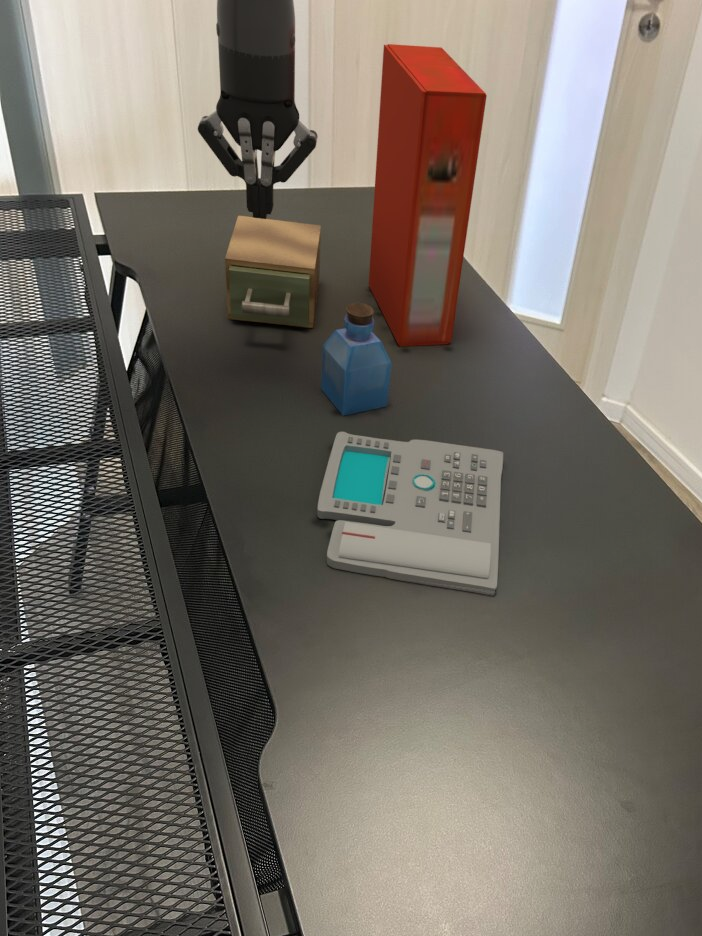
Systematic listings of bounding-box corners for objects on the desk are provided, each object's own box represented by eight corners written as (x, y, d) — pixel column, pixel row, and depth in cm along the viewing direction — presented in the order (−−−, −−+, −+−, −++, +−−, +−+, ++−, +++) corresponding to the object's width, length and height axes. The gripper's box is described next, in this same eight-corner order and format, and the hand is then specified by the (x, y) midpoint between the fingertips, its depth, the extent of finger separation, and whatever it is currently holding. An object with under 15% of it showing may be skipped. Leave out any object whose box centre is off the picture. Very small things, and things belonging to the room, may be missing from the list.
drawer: (305, 345, 113) (306, 297, 108) (225, 337, 112) (223, 288, 107) (314, 283, 126) (315, 238, 121) (242, 275, 124) (240, 229, 119)
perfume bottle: (386, 406, 108) (396, 318, 99) (343, 415, 105) (348, 326, 96) (364, 380, 111) (371, 293, 103) (321, 389, 108) (324, 300, 100)
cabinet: (313, 328, 118) (314, 268, 112) (227, 319, 117) (224, 258, 111) (319, 282, 128) (321, 225, 122) (240, 273, 126) (238, 215, 120)
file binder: (395, 346, 118) (422, 89, 95) (366, 286, 129) (383, 43, 106) (450, 344, 121) (489, 93, 98) (417, 285, 132) (445, 47, 109)
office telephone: (501, 579, 85) (302, 551, 84) (496, 597, 87) (302, 569, 86) (505, 442, 101) (338, 416, 100) (501, 459, 103) (337, 434, 102)
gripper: (326, 40, 88) (320, 209, 101) (194, 20, 87) (205, 195, 99) (321, 61, 83) (316, 237, 95) (182, 40, 81) (195, 222, 94)
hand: (260, 215), depth 97 cm, fingers closed
